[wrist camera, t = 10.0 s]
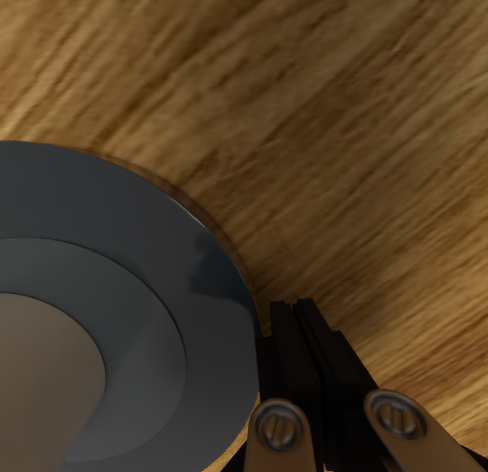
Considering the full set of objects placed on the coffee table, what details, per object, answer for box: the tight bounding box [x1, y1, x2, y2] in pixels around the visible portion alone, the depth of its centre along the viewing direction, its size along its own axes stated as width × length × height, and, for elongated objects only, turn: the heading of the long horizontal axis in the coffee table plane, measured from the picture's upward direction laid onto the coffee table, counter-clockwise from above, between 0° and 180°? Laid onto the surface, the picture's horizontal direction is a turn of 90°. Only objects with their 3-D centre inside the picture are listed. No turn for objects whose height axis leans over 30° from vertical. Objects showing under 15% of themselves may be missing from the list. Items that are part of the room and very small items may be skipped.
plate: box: [0, 140, 262, 472], centre depth 10 cm, size 16×16×2 cm
